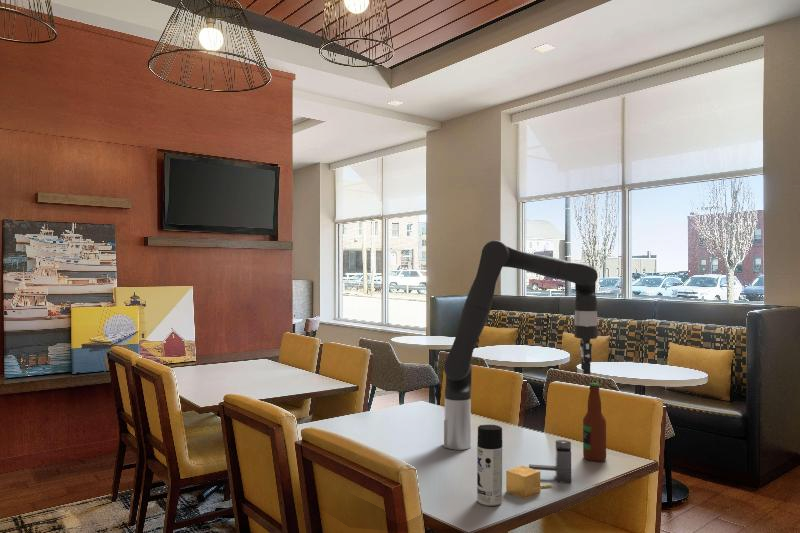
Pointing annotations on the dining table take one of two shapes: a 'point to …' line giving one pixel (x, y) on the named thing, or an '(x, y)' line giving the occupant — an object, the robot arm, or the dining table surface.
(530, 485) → the wooden block
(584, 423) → the bottle
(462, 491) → the dining table surface
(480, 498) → the spray can
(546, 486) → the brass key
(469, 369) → the robot arm
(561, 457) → the grey mallet
